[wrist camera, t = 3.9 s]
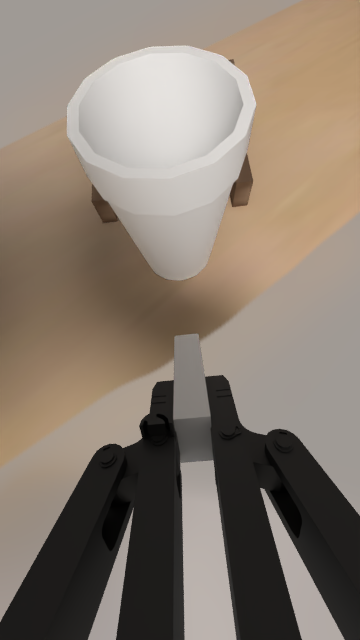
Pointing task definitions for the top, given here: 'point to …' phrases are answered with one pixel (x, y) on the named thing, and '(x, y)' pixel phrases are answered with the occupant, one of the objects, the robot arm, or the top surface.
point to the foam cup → (165, 147)
